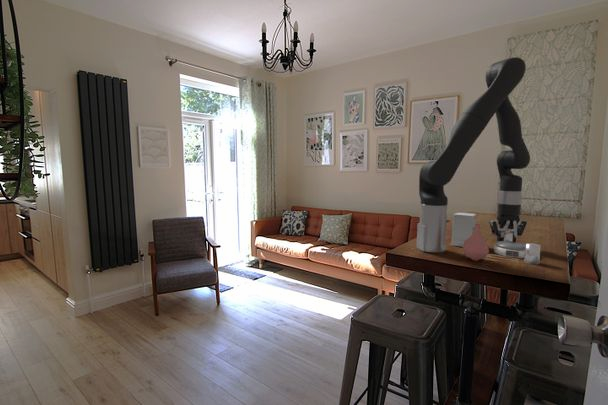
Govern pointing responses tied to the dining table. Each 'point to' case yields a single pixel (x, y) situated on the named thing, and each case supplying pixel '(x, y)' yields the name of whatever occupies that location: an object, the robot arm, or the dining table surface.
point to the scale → (510, 249)
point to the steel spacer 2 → (532, 253)
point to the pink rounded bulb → (475, 245)
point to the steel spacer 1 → (508, 236)
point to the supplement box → (462, 228)
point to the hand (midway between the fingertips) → (506, 246)
